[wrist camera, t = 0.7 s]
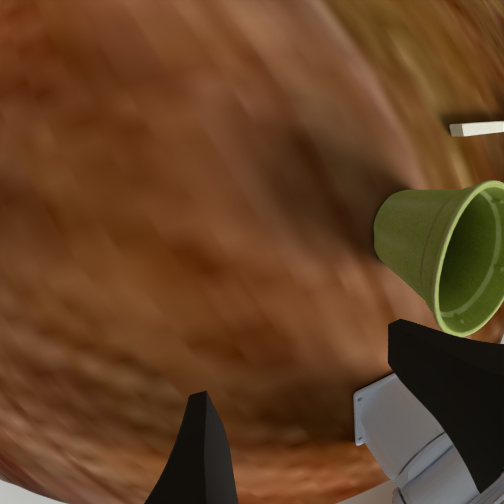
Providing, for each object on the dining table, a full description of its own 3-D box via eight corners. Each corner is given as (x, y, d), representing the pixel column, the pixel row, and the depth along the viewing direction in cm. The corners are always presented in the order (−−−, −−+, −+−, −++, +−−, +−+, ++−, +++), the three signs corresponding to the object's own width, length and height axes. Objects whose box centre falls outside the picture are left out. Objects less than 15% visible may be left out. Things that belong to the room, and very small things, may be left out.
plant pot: (456, 212, 23) (533, 236, 15) (404, 304, 24) (473, 354, 16) (393, 142, 20) (487, 144, 12) (328, 252, 21) (405, 304, 13)
